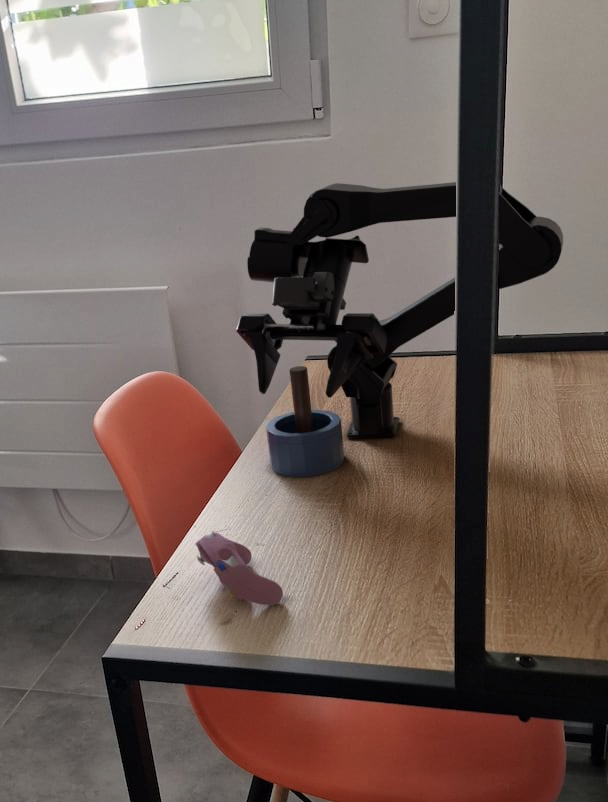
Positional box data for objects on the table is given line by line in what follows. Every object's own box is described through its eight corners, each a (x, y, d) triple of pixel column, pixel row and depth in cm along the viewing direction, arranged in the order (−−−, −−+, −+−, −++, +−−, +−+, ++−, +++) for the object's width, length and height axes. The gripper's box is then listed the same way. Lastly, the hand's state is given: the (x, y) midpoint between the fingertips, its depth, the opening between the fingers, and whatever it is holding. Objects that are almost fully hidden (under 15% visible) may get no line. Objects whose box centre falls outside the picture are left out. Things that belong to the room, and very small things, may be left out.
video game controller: (218, 582, 85) (179, 537, 82) (252, 554, 85) (215, 508, 82) (252, 629, 77) (210, 582, 73) (290, 598, 77) (250, 549, 73)
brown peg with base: (296, 451, 109) (286, 364, 104) (326, 451, 108) (317, 363, 103) (289, 464, 106) (278, 374, 101) (319, 463, 104) (310, 372, 99)
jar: (281, 448, 113) (276, 410, 110) (349, 447, 110) (346, 408, 107) (263, 477, 104) (258, 437, 102) (336, 477, 102) (332, 435, 99)
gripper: (233, 250, 104) (200, 361, 100) (372, 244, 94) (342, 366, 91) (269, 298, 113) (240, 401, 109) (399, 296, 104) (372, 409, 100)
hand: (294, 394), depth 102 cm, fingers open, 9 cm apart
